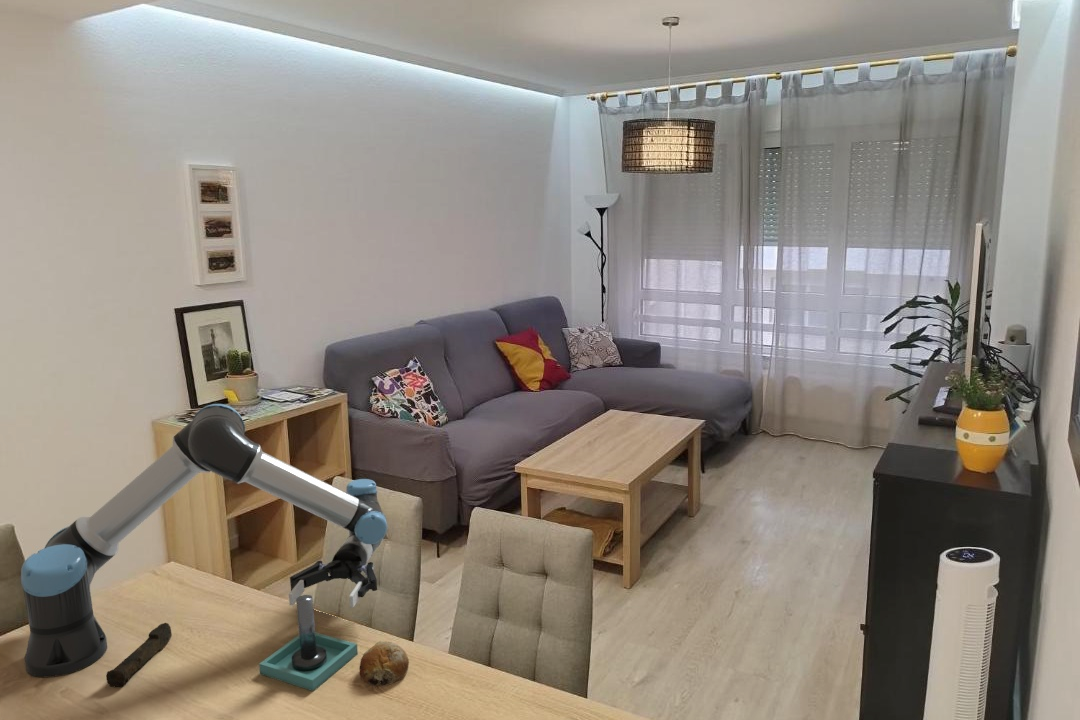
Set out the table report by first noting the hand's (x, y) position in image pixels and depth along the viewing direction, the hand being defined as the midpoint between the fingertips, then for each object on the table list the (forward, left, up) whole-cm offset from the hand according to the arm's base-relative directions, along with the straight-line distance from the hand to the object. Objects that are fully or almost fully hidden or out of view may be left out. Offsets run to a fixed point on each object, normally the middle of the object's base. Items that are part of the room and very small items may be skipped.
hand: (320, 600), depth 169 cm
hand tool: (-31, -21, -11) cm, 39 cm away
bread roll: (+19, -4, -10) cm, 22 cm away
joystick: (+2, -7, -10) cm, 12 cm away
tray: (+2, -7, -10) cm, 13 cm away
